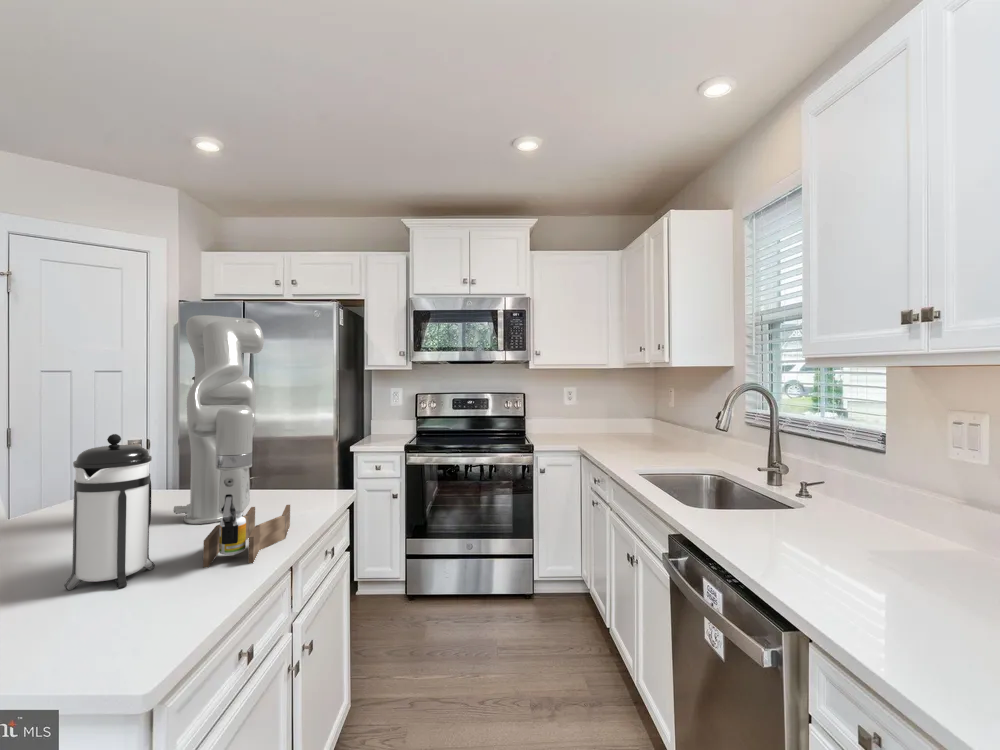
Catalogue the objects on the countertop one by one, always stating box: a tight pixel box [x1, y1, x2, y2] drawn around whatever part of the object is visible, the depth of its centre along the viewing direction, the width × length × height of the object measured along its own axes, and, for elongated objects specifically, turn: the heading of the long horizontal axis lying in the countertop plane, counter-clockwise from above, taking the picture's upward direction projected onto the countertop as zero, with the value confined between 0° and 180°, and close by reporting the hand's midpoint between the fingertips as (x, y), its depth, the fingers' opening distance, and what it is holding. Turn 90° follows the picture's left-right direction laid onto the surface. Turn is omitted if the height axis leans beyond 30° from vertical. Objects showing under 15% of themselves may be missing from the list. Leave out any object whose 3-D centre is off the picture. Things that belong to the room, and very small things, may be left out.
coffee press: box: [63, 433, 156, 591], centre depth 104 cm, size 17×16×30 cm
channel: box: [202, 504, 291, 569], centre depth 124 cm, size 15×28×6 cm, turn 18°
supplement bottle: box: [219, 509, 247, 556], centre depth 114 cm, size 5×5×10 cm
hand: (232, 538), depth 114 cm, fingers closed on supplement bottle, 5 cm apart
